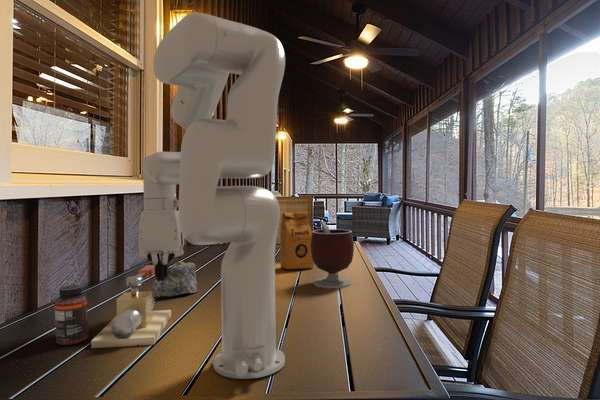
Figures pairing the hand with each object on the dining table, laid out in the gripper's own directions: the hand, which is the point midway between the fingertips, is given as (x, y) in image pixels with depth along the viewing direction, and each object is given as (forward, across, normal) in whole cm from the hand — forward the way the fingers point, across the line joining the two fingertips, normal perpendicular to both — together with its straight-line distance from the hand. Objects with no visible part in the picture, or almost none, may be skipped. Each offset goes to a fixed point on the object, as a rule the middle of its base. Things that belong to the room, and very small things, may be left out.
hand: (162, 279), depth 103 cm
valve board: (+9, +3, +10) cm, 14 cm away
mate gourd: (+9, -45, -31) cm, 56 cm away
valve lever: (-1, +3, +4) cm, 5 cm away
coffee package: (+9, -35, -58) cm, 68 cm away
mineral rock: (+9, +2, -21) cm, 23 cm away
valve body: (+7, +3, +10) cm, 13 cm away
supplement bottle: (+9, +14, +16) cm, 23 cm away
